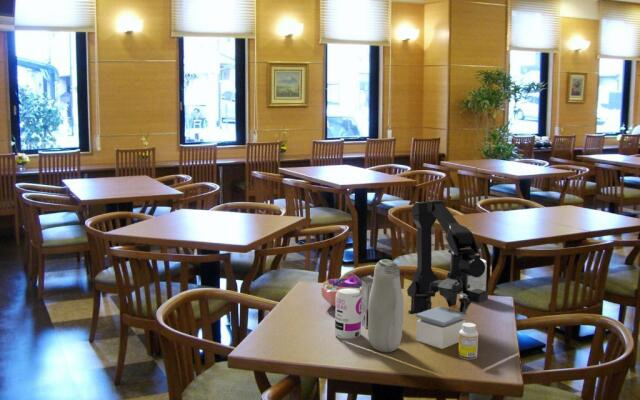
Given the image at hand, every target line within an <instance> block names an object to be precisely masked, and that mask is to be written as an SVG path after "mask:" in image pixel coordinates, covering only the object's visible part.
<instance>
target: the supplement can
mask: <svg viewBox="0 0 640 400" xmlns="http://www.w3.org/2000/svg"><path fill="white" fill-rule="evenodd" d="M361 305H362V295H361V293H360V290H358V289H355V288H341V289H339V290H338V292H337V294H336V307H335V316H334V319H335V320H334V335H335V336H336V337H337V338H338V339H341V340H342V339H344V340H345V339H348V340H351V339H357V338H359V337H360V336H361V333H362V330H361V329H362V324H361Z"/></svg>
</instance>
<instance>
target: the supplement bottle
mask: <svg viewBox="0 0 640 400" xmlns="http://www.w3.org/2000/svg"><path fill="white" fill-rule="evenodd" d="M478 344H479V332H478V331H477V325H476V324H475V323H473V322H465V323H463V324H462V329H461V330H460V331H459V342H458V350H457V351H458V353H457V356H458V357H459V358H460V359H464V360H474V359H475V360H476V359H477V358H478V352H479V351H478V348H479V347H478V346H479V345H478Z"/></svg>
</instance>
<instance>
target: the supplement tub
mask: <svg viewBox="0 0 640 400" xmlns="http://www.w3.org/2000/svg"><path fill="white" fill-rule="evenodd" d="M480 260H482V261H483V262H484V264H485V271H484V273H483V274H482V275H481V276H480V277H473V276H468V285H470V288H468V290H470V291H471V290H474V289H481V290H485V291H487V273H488V272H487V270H488V269H487V268H488V265H487V260H485V259H483V258H480ZM461 292H463V291H461ZM459 297H460V298H463V295H462V294H459Z"/></svg>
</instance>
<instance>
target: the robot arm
mask: <svg viewBox="0 0 640 400" xmlns="http://www.w3.org/2000/svg"><path fill="white" fill-rule="evenodd" d="M410 211H411V214H412V221H413V223H414V224H415V226H416V229H417V230H416V232H417V233H416V234H417V237H416V239H417V241H416V243H417V245H416V246H417V249H416V250H417V252H416V253H417V256H416V258H417V262H416V263H417V265H416V266H417V267H416V270H415V272H414V273H413V274H412V281H411V283H410V285H409V286H408V287H407V289H406V291H407V293H406V294H407V296H408V297H410V298H411V299H410V300H411V301H410V303H411V304H410V310H408V311H407V312H408V313H409V314H413V315H414V314H415V315H416V314H418V313H421V312H424V311H427V310H430V309H432V304H433V303H432V297H433V298H435V296H436V295H437V294H436V293H439V295H440V296H441V297H443V298H444V299H445V300H446V303H447V306H448V308H449V307H450V306H453V305H456V304H457V300H458V301H459V304H460V312H463V313H466V312H467V310H468V308H469V306H470V305H471V304H472V302H473V303H482V302H484V301H487V300H489V294H488V291H487V290H486V291H485V290H481V289H474V290H471V291H470V290H468V288H470V285H468V276H473V277H480V276H481V275H482V274H483V273H484V271H485V264H484V262H483V261H482V260H480V259H481V254H479V253H480V252H479V247H478V245H477V241H476V239H475V236H474V234H473V232H472V231H471V230H470V229H469V228H468V227H467V226H464V225H462V224H460V223H459V222H458V221H457V220H456V218H455V217H454V215H453V214H452V213H451V211H450V210H449V209H448V208H447V206H446V203H445V201H444V200H440V199H436V200H435V199H434V200H432V199H431V200H428V201H425V202H424V201H422V202H417V201H416V202H414V204H413V205H412V207H411V209H410ZM436 222H438V224H439V225H440V226H441V228H442V229H443V230H444V231H445V233H446V237H445V239H446V242H447V244H448V245H449V247H450V249H448V251H447V252H448V253H449V254H450V268H449V270H450V271H447V274H446V275H447V276H446V278H445V279H438V275H437V274H436V273H435V272H434V271H433V269H432V267H433V266H432V261H433V260H432V245H433V244H432V243H433V242H432V241H433V239H432V234H433V233H432V230H433V226H434V224H435V223H436ZM461 291H463V292H461ZM460 294H462V295H463V298H461V297H460V298H458V295H460Z"/></svg>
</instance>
